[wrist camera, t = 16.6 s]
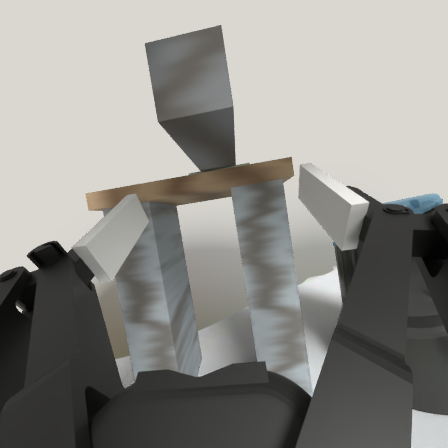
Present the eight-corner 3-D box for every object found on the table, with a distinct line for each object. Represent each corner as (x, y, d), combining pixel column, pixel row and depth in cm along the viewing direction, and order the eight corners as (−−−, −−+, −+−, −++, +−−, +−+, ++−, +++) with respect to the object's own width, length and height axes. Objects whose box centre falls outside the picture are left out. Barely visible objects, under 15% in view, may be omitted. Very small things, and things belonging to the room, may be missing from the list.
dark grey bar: (236, 187, 39) (233, 169, 39) (233, 106, 9) (221, 25, 9) (217, 190, 40) (215, 172, 39) (158, 122, 10) (144, 43, 10)
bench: (295, 344, 33) (271, 176, 32) (327, 418, 21) (291, 154, 20) (167, 357, 35) (139, 199, 34) (130, 431, 23) (84, 191, 22)
